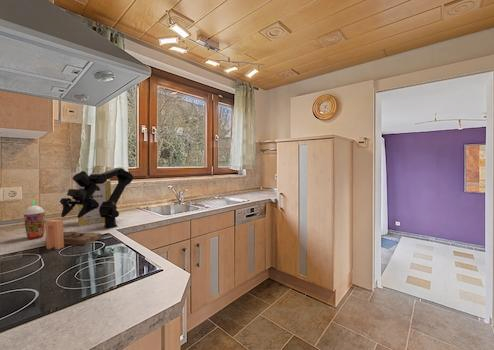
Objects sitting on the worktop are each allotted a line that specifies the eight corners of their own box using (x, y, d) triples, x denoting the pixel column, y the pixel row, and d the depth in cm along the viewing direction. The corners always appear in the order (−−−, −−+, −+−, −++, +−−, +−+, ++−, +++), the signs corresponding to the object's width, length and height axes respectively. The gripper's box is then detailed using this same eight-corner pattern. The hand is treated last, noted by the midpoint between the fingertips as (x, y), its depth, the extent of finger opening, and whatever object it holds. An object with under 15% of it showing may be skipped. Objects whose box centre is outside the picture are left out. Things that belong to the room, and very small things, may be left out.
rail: (64, 236, 121) (64, 231, 121) (101, 238, 118) (101, 233, 118) (45, 243, 112) (45, 238, 111) (85, 245, 109) (85, 240, 108)
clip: (53, 246, 107) (51, 219, 106) (64, 247, 106) (62, 219, 106) (46, 248, 104) (45, 221, 103) (57, 249, 103) (56, 221, 103)
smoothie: (22, 241, 114) (20, 202, 113) (27, 236, 121) (25, 200, 120) (44, 238, 119) (42, 200, 117) (47, 234, 126) (45, 198, 125)
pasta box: (78, 226, 141) (76, 181, 139) (79, 222, 149) (76, 180, 148) (112, 221, 151) (110, 180, 150) (110, 218, 160) (109, 179, 158)
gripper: (61, 182, 118) (41, 207, 108) (93, 183, 115) (75, 208, 105) (76, 195, 126) (58, 219, 116) (106, 196, 124) (90, 220, 113)
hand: (70, 217), depth 112 cm, fingers open, 9 cm apart
